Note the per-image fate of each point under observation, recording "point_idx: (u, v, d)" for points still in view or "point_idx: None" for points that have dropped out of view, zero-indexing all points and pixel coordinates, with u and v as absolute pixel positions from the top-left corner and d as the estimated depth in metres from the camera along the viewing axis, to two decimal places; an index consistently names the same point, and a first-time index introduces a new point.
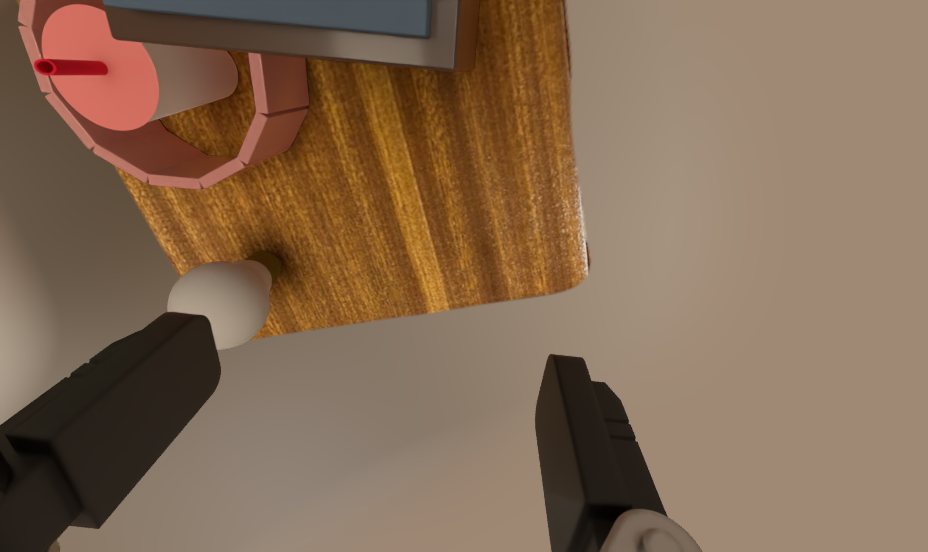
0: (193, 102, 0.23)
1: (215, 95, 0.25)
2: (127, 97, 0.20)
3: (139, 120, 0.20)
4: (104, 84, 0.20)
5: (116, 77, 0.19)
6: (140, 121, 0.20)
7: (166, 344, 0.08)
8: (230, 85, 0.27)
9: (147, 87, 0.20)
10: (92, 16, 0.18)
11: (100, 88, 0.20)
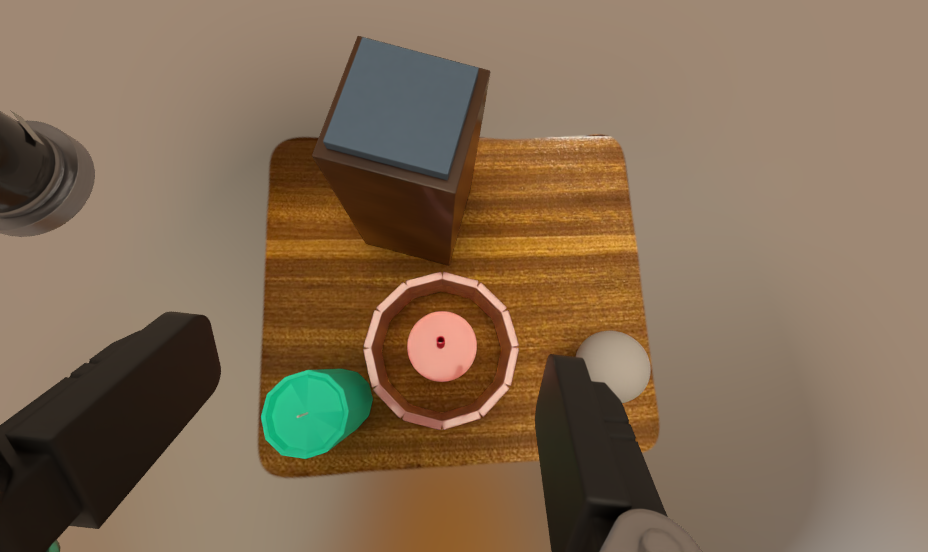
0: None
1: None
2: (458, 337, 0.32)
3: (472, 337, 0.32)
4: (449, 348, 0.31)
5: (447, 338, 0.32)
6: (472, 336, 0.32)
7: (166, 344, 0.08)
8: None
9: (455, 321, 0.32)
10: (415, 334, 0.31)
11: (451, 351, 0.31)
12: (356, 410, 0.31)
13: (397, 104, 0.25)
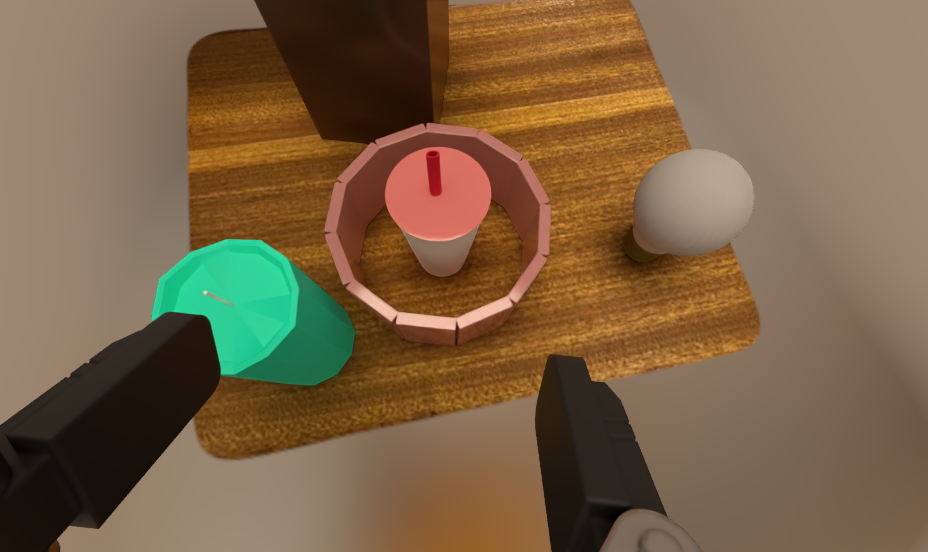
0: None
1: None
2: (460, 177, 0.21)
3: (481, 174, 0.21)
4: (449, 193, 0.20)
5: (443, 180, 0.21)
6: (482, 174, 0.21)
7: (166, 344, 0.08)
8: None
9: (453, 157, 0.21)
10: (395, 181, 0.21)
11: (452, 198, 0.20)
12: (319, 309, 0.20)
13: None
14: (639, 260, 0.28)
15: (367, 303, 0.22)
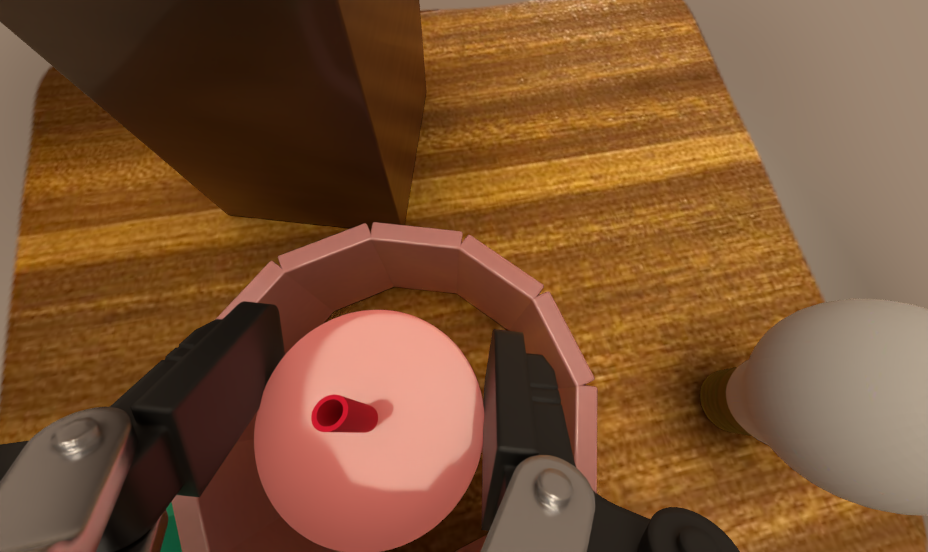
0: None
1: None
2: (420, 385, 0.10)
3: (464, 376, 0.10)
4: (394, 424, 0.10)
5: (384, 392, 0.10)
6: (466, 375, 0.10)
7: (248, 330, 0.09)
8: None
9: (405, 335, 0.10)
10: (279, 396, 0.10)
11: (401, 436, 0.09)
12: None
13: None
14: (729, 431, 0.17)
15: None
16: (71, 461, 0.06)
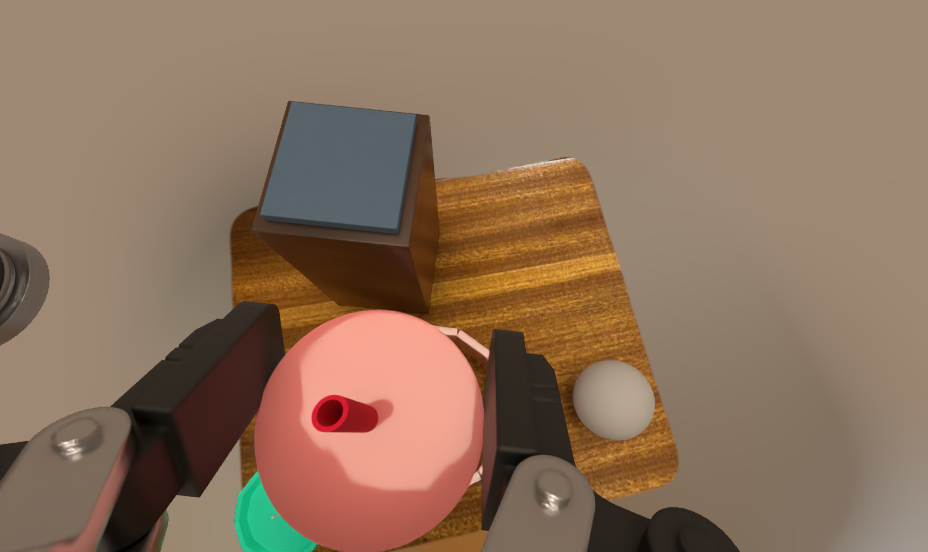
0: None
1: None
2: (421, 384, 0.10)
3: (464, 376, 0.10)
4: (394, 424, 0.10)
5: (384, 392, 0.10)
6: (466, 375, 0.10)
7: (248, 330, 0.09)
8: None
9: (405, 335, 0.10)
10: (279, 396, 0.10)
11: (401, 436, 0.09)
12: None
13: (335, 164, 0.23)
14: None
15: None
16: (71, 461, 0.06)
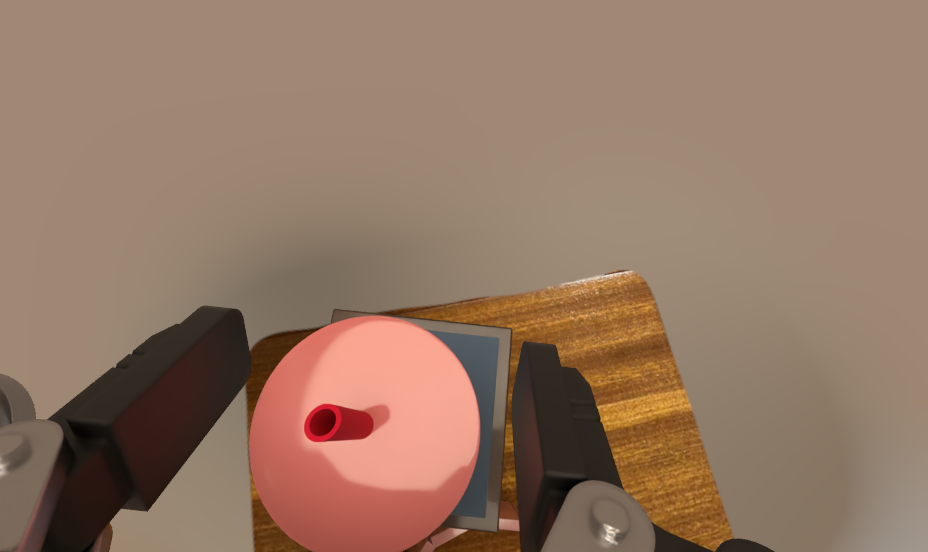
0: None
1: None
2: (416, 391, 0.10)
3: (460, 382, 0.10)
4: (390, 431, 0.10)
5: (379, 399, 0.10)
6: (462, 382, 0.10)
7: (205, 336, 0.08)
8: None
9: (401, 342, 0.10)
10: (274, 403, 0.10)
11: (397, 443, 0.09)
12: None
13: None
14: None
15: None
16: None
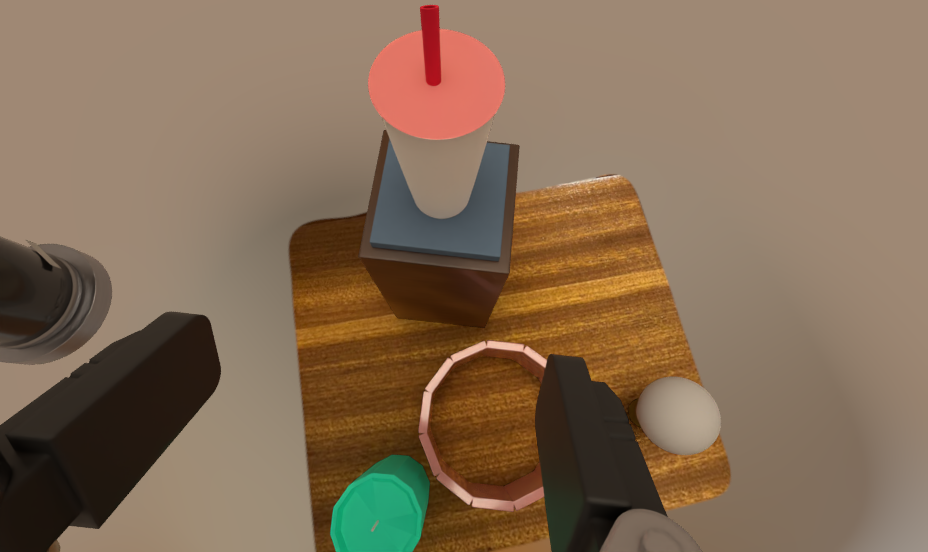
0: None
1: None
2: (466, 65, 0.16)
3: (492, 61, 0.16)
4: (451, 83, 0.16)
5: (444, 68, 0.16)
6: (493, 61, 0.16)
7: (166, 344, 0.08)
8: None
9: (456, 41, 0.17)
10: (381, 68, 0.16)
11: (455, 88, 0.16)
12: (424, 506, 0.29)
13: None
14: None
15: (451, 490, 0.31)
16: None
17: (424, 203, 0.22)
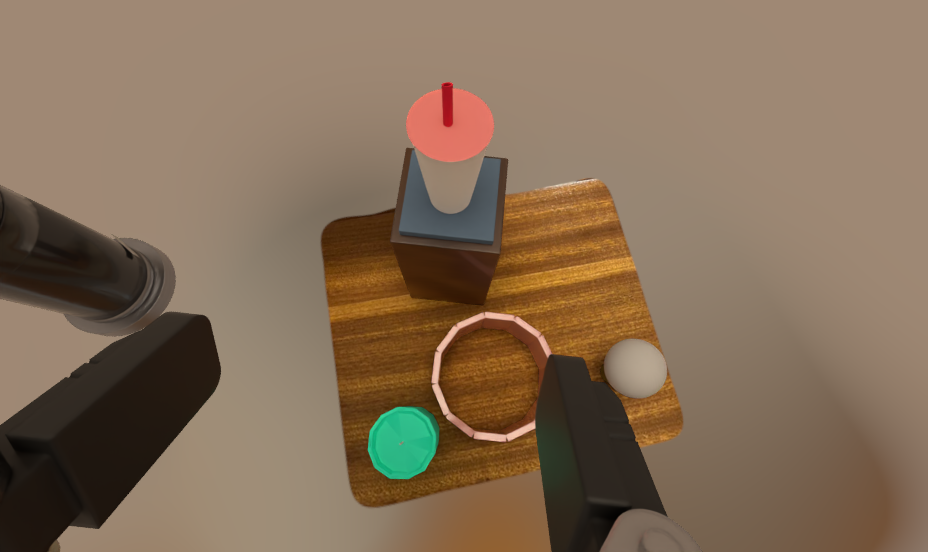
0: None
1: None
2: (468, 112, 0.25)
3: (486, 110, 0.25)
4: (459, 124, 0.25)
5: (454, 114, 0.25)
6: (486, 110, 0.25)
7: (166, 344, 0.08)
8: None
9: (462, 96, 0.25)
10: (414, 115, 0.25)
11: (462, 128, 0.25)
12: None
13: None
14: (610, 383, 0.47)
15: (457, 426, 0.40)
16: None
17: (438, 202, 0.31)
